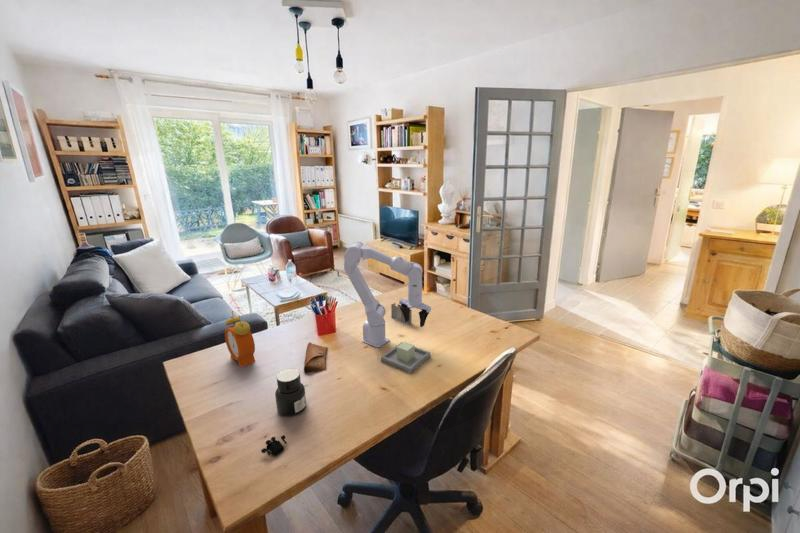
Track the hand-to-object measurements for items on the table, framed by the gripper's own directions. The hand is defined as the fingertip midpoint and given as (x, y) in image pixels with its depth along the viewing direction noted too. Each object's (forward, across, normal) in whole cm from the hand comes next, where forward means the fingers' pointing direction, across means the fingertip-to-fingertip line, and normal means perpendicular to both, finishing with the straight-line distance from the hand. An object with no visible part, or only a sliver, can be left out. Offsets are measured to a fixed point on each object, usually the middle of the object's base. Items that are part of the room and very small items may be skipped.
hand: (414, 323), depth 144 cm
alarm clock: (+10, -48, -50) cm, 70 cm away
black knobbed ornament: (+10, +1, -69) cm, 70 cm away
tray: (+9, +4, -12) cm, 16 cm away
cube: (+9, +4, -12) cm, 15 cm away
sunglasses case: (+10, -24, -33) cm, 42 cm away
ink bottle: (+10, -9, -56) cm, 58 cm away
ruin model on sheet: (+10, -18, +15) cm, 25 cm away
